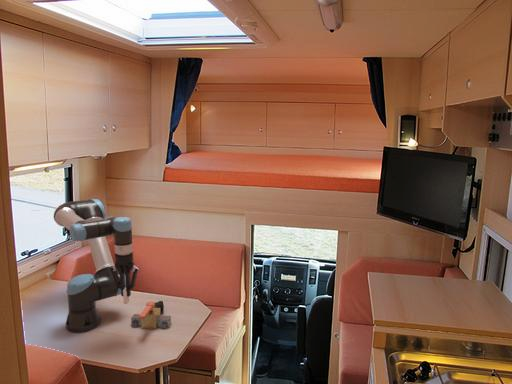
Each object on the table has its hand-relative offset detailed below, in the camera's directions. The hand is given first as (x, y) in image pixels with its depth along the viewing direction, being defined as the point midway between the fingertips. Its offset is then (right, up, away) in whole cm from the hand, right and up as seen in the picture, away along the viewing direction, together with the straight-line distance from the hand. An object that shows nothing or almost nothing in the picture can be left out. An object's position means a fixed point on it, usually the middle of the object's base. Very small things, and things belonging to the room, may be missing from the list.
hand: (126, 302), depth 181 cm
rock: (+8, -12, +21) cm, 26 cm away
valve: (+8, -14, +11) cm, 20 cm away
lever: (+8, -5, +5) cm, 11 cm away
